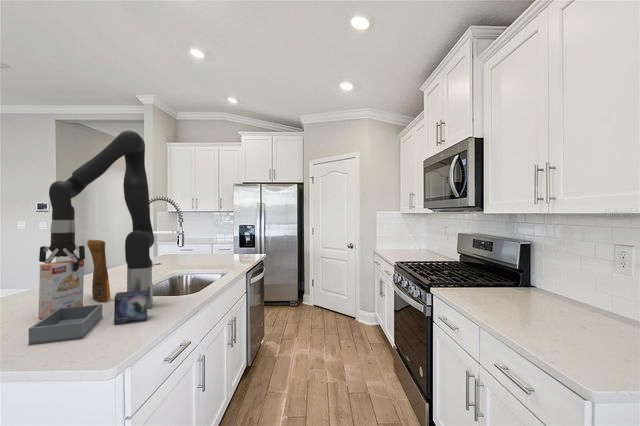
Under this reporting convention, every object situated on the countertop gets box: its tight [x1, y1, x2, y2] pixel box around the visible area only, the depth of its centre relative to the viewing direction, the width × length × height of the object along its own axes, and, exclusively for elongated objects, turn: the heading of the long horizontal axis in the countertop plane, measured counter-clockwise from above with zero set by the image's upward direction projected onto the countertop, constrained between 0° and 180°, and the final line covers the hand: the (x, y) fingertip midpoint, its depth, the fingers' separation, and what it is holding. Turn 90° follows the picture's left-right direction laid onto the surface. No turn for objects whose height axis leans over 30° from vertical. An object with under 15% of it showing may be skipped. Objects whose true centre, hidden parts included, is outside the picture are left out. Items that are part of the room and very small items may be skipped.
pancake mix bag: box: [86, 239, 111, 303], centre depth 144 cm, size 7×19×28 cm, turn 48°
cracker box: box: [38, 259, 85, 320], centre depth 123 cm, size 14×6×21 cm, turn 174°
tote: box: [28, 304, 103, 346], centre depth 107 cm, size 14×22×5 cm, turn 21°
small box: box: [113, 290, 148, 326], centre depth 116 cm, size 11×6×10 cm, turn 117°
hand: (62, 271), depth 123 cm, fingers closed on cracker box, 8 cm apart
